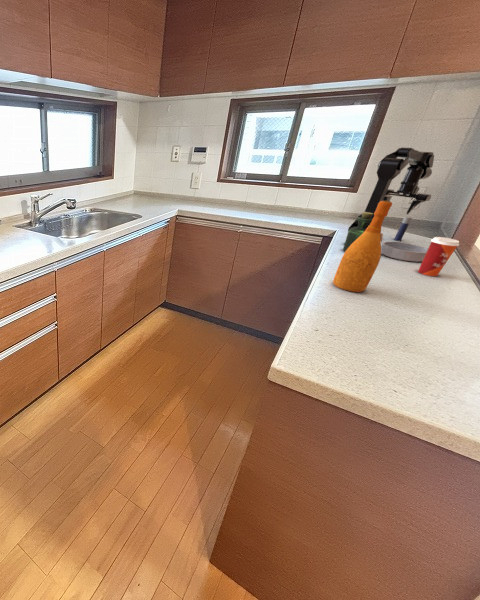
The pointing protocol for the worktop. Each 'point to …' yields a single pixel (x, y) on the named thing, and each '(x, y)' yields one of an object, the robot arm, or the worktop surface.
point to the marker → (403, 228)
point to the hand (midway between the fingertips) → (395, 212)
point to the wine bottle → (362, 254)
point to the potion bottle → (357, 229)
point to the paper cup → (437, 255)
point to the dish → (403, 251)
